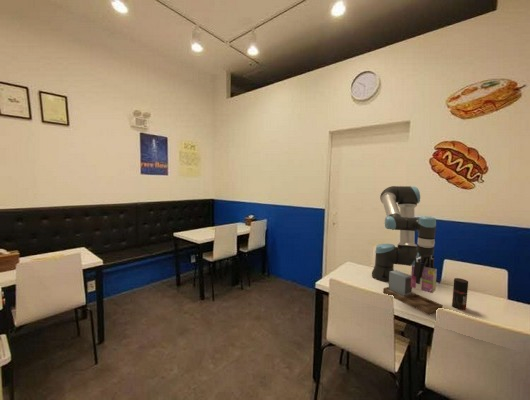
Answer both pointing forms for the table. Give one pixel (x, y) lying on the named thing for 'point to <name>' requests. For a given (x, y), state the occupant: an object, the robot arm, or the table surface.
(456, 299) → the deodorant
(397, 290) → the matte grey rectangular block
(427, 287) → the box
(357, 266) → the table surface
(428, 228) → the robot arm
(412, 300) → the tray
